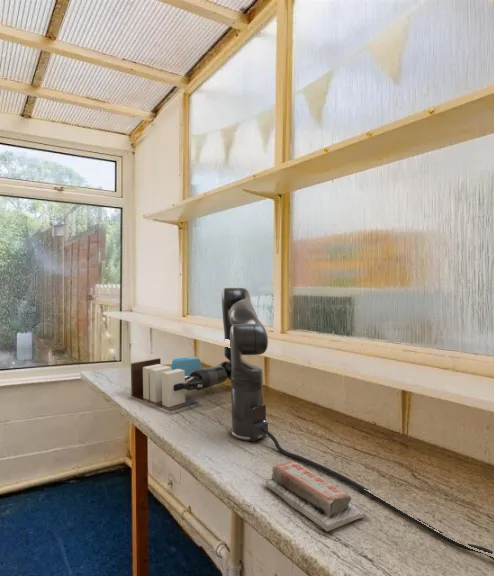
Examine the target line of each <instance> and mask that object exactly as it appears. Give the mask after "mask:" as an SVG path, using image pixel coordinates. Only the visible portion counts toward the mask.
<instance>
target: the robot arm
mask: <svg viewBox="0 0 494 576" xmlns="http://www.w3.org/2000/svg"><path fill="white" fill-rule="evenodd" d="M221 312H222V323H223V334H224V340H225V339H229V340H230V347H231V348H228V347H224V346H223V347H224V349H223V350H224V352H223V353H224V357H225V358H226V360H223V361H222V362H220V363H219V364H217V365H215V366H212V367H203V368H201V369H199V370H195V371H193V372H192V373H191V374H190V376H185V382H183V384H182V383H179V384H175V385H174V391H178V390H182V389H183V390H185V391H186V390H187V391H200V390H204V389H208V388H211V387H213V386H216V385H219V384H222V383H224V382H226V381H227V379H229V380H230V383H231V385H230V386H231V388H230V389H231V391H230V392H231V394H230V396H231V398H230V399H231V436H233V437H234V438H235V439H238V440H242V441H248V442H253V443H254V442H256V441H259V440H260V439H263V438H265V437H267V436H268V437H269V438H270V439H271V441H273V443H274V446H275V447H276V449H277V450H278V452H280V453H281V454H283V455H285V456H287V457H288V458H292V459H295V460H298V461H301V462H303V463H305V464H308V465H310V466H312V467H314V468H316V469H319V470H320V471H323V472H325V473H327V474H330V475H331V476H333V477H335V478H337V479H339V480H341V481H342V482H345V483H347V484H348V485H351V486H352V487H354V488H356V489H358V490H359V491H361V492H362V493H364V494H366V495H368V496H369V497H371V498H372V499H374V500H376V501H378V502H379V503H381V504H382V505H384V506H386V507H387V508H390V509H391V510H393V511H394V512H396V513H398V514H399V515H401V516H403V517H404V518H406V519H408V520H410V522H411V521H412V522H413V523H415V524H417V525H418V526H420V527H422V528H423V529H425V530H427V531H428V532H430V533H432V534H434V535H435V536H437V537H439V538H441V539H442V540H444V541H445V542H448V543H450V544H452V545H453V546H456V547H458V548H460V549H463V550H466V551H468V552H469V551H470V552H473V553H477V554H482V555H485V556H487V557H489V558H490V559H491V560H493V561H494V558H493V557H491V556H488V555H486V554H483V553H481V552H478V551H475V550H473V549H470V548H468V547H466V546H464V545H462V544H459V543H457V542H455V541H453V540H451V539H449V538H447V537H445V536H443V535H442V534H440V533H444V532H443V531H441V530H440V529H438V528H436V527H434V526H433V525H431V526H430V524H429V523H428V522H425V521H424V522H423V520H422V519H420V518H419V517H417V519H418V520H419V521H421V520H422V522H423V523H425V524H427V525H428V524H429V527H432V528H433V527H434V528H433V529H435V528H436V530H437V529H438V531H439V532H440V533H438V532H436V531H434V530H433V529H431V528H429V527H427V526H426V525H424V524H422V523H421V522H419V521H417V520H415V519H414V518H412V517H410V516H408V515H407V514H405V513H403V512H402V511H400V510H398V509H396V508H395V507H393V506H391V505H390V504H388V503H386V502H385V501H383V500H381V499H380V498H378V497H376V496H374V495H373V494H371V493H369V492H368V491H366V490H369V488H367V487H365V486H363V485H361V484H360V483H358V482H356V481H354V480H353V479H350V478H348V477H347V476H344V475H343V474H341V473H339V472H337V471H335V470H333V469H330V468H329V467H327V466H324V465H322V464H320V463H318V462H315V461H313V460H310V459H308V458H305V457H304V456H301V455H300V454H299V455H298V454H296V453H291V452H289V451H287V450H285V449H283V447H281V445H280V443H279V441H278V440H277V438H276V437H275V436H274V435H273V433H271V432H270V431H269V423H268V422H267V408H266V407H267V404H266V403H264V389H263V387H264V386H263V385H264V384H263V383H264V382H263V381H264V380H263V378H264V377H263V376H264V374H263V372H264V371H263V369H262V368H261V367H260V366H259V365H255V364H252V363H250V362H249V361H246V360H244V359H243V356H259V355H263V354H264V353H266V351H267V349H268V346H269V337H268V333H267V330H266V328H265V326H264V324H263V323H262V322H261V321H260V319H259V318H258V315H257V313H256V309H255V308H254V306H253V303H252V301H251V296H250V292H249V290H248V289H247V288H245V287H225V288H223V289H222V291H221ZM364 489H366V490H364ZM468 545H469V546H471V547H474V548H477V549H479V550H483V551H484V552H488V553H491V554H492V553H493V552H494V551H492V550H491V549H489V548H486V547H484V546H481V545H476V544H473V543H468Z"/></svg>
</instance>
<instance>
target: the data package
mask: <svg viewBox="0 0 494 576" xmlns="http://www.w3.org/2000/svg"><path fill="white" fill-rule="evenodd" d="M171 367H172V370H175V369H181V370H185V376H190V374H191V373H192V372H193V371H195V370H199V369H202V363H201V359H200V358H198V357H195V356H189V357H179V358H174V359H172V361H171Z"/></svg>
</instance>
